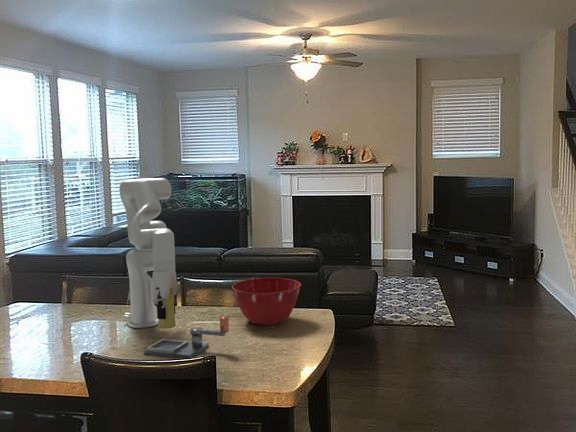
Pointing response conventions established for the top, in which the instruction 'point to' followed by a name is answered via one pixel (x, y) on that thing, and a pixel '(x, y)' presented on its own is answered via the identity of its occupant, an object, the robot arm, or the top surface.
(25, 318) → the top surface
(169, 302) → the vase
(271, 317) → the mixing bowl
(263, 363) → the top surface
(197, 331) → the lever
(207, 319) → the top surface
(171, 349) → the bed
